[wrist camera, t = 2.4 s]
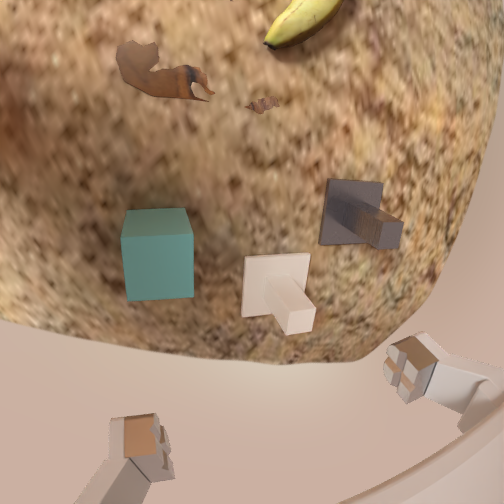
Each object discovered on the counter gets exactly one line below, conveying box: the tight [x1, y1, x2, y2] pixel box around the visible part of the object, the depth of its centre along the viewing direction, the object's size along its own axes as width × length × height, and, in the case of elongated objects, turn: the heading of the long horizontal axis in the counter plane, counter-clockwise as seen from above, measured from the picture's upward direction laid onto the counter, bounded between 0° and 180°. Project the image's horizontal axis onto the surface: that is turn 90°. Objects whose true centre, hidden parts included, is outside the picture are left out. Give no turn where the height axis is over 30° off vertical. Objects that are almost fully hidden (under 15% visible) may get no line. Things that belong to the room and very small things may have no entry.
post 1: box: [241, 252, 316, 335], centre depth 31 cm, size 7×7×7 cm
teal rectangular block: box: [120, 208, 194, 301], centre depth 26 cm, size 5×5×7 cm
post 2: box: [318, 178, 404, 250], centre depth 31 cm, size 7×7×7 cm
